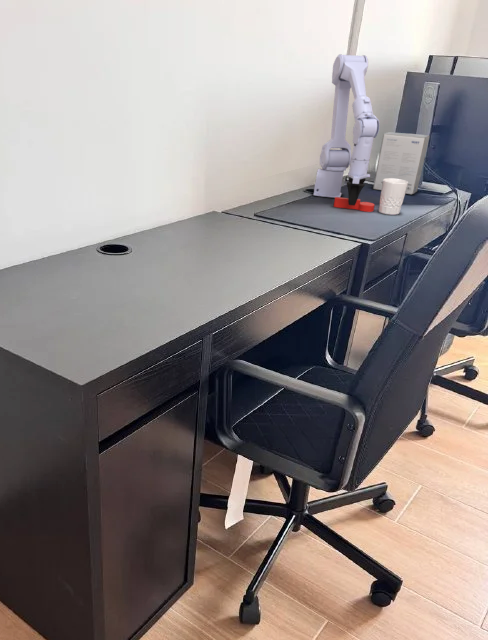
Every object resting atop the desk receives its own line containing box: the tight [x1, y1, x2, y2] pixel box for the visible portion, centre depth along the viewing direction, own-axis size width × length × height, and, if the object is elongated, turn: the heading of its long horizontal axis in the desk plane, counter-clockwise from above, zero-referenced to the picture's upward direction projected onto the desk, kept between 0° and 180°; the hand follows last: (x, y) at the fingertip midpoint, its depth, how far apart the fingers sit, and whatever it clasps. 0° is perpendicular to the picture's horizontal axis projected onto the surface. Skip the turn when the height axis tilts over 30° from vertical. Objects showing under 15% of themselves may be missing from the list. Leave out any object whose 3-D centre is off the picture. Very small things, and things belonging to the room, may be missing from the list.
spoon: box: [333, 197, 376, 213], centre depth 194 cm, size 13×5×3 cm, turn 73°
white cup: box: [378, 178, 408, 216], centre depth 189 cm, size 8×8×10 cm
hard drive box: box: [372, 131, 430, 195], centre depth 217 cm, size 16×8×20 cm, turn 58°
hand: (352, 202), depth 194 cm, fingers open, 7 cm apart
